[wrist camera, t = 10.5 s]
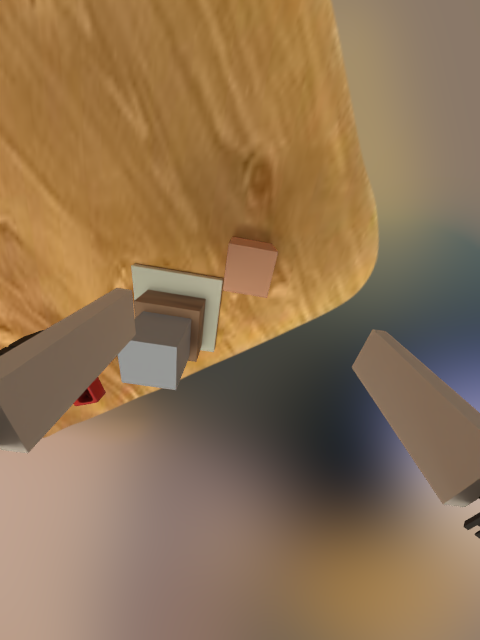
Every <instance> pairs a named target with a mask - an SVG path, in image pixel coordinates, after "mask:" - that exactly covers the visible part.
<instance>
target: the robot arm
mask: <svg viewBox="0 0 480 640" xmlns="http://www.w3.org/2000/svg"><path fill="white" fill-rule="evenodd" d="M135 335H136V328H135V318H134V308H133V297H132V290H127V289H121V288H116V289H114V290H112V291H111V292H109V293H107V294H106V295H104V296H102V297H100V298H99V299H97V300H95V301H94V302H92V303H90V304H89V305H87V306H85V307H83V308H82V309H80V310H78V311H77V312H75V313H73V314H71V315H70V316H68V317H66V318H65V319H63V320H61V321H59V322H58V323H56V324H54V325H53V326H51V327H49V328H47V329H46V330H42V331H39V332H36V333H33V334H30V335H27V336H24V337H23V338H21V339H19V340H17V341H15V342H14V343H12V344H10V345H9V346H8V347H5V348H3V349H1V350H0V449H1V450H6V451H14V452H23V453H29V452H30V451H31V449H32V448H33V447H34V446H35V445H36V444H37V443H38V442H39V441H40V439H41V438H42V437H43V436H44V435H45V434H46V433H47V432H48V431H49V430H50V429H51V427H52V426H53V425H54V424H55V423H56V422H57V421H58V420H59V419H60V418H61V416H62V415H63V414H64V413H65V412H66V411H67V410H68V409H69V408H70V407H71V405H72V404H73V403H74V402H75V401H76V400H77V399H78V398H79V397H80V396H81V394H82V393H83V392H84V391H85V390H86V389H87V388H88V387H89V386H90V385H91V383H92V382H93V381H94V380H95V379H96V378H97V377H98V376H99V375H100V374H101V372H102V371H103V370H104V369H105V368H106V367H107V366H108V365H109V364H110V363H111V361H112V360H113V359H114V358H115V357H116V356H117V355H118V354H119V353H120V352H121V350H122V349H123V348H124V347H125V346H126V345H127V344H128V343H129V342H130V341H131V339H132V338H133V337H134V336H135ZM352 368H353V370H354V371H355V373H356V374H357V376H358V377H359V379H360V380H361V382H362V383H363V385H364V386H365V388H366V389H367V391H368V392H369V394H370V395H371V397H372V398H373V400H374V401H375V403H376V404H377V406H378V407H379V409H380V410H381V412H382V413H383V415H384V416H385V418H386V419H387V421H388V422H389V424H390V425H391V427H392V428H393V430H394V431H395V433H396V434H397V436H398V438H399V439H400V441H401V442H402V444H403V445H404V446H405V448H406V450H407V451H408V453H409V454H410V456H411V457H412V459H413V460H414V462H415V463H416V465H417V466H418V468H419V469H420V470H421V472H422V473H423V475H424V477H425V478H426V480H427V481H428V482H429V484H430V485H431V487H432V489H433V490H434V492H435V493H436V495H437V496H438V498H439V499H440V500H441V502H442V503H443V504H444V505H453V506H460V507H466V506H467V505H469V504H470V503H472V502H473V501H475V500H477V499H478V498H479V499H480V413H479V412H478V411H477V410H476V409H474V408H473V407H472V406H471V405H470V404H469V403H468V402H466V401H465V400H464V399H463V398H462V397H461V396H460V395H458V394H457V393H456V392H455V391H454V390H453V389H451V388H450V387H449V386H448V385H447V384H446V383H445V382H443V381H442V380H441V379H440V378H439V377H438V376H436V375H435V374H434V373H433V372H432V371H431V370H430V369H429V368H427V367H426V366H425V365H424V364H423V363H422V362H420V361H419V360H418V359H417V358H416V357H415V356H414V355H412V354H411V353H410V352H409V351H408V350H407V349H406V348H404V347H403V346H402V345H401V344H400V343H399V342H397V341H396V340H395V339H394V338H393V337H392V336H391V335H389V334H388V333H387V332H385V331H380V330H374V329H373V330H372V332H371V333H370V335H369V337H368V339H367V340H366V342H365V344H364V346H363V348H362V350H361V351H360V353H359V355H358V357H357V359H356V361H355V363H354V364H353V366H352ZM476 525H478V526H480V513H478V514H476V515H475V516H473V517H471V518H470V519H468V520H466V521H465V523H464V527H465V528H466V529H467V530H469V529H471V528H473V527H475V526H476ZM475 535H476V536H477V537H478V538H480V531H478V532H476V533H475Z"/></svg>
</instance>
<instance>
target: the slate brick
mask: <svg viewBox="0 0 480 640" xmlns="http://www.w3.org/2000/svg"><path fill="white" fill-rule="evenodd" d="M135 328H136V335H135V336H134V337H133V338H132V339H131V341H130V342H129V343H128V344H127V345H126V346H125V347H124V348H123V349H122V350H121V352H120V353H119V354H118V360H119V366H120V372H121V379H122V382H123V383H130V384H137V385H145V386H152V387H159V388H166V389H173V390H176V388H177V386H178V383H179V381H180V378H181V376H182V373H183V371H184V368H185V366H186V363H187V361H188V358H189V352H190V335H191V319H189V318H183V317H177V316H170V315H164V314H158V313H151V312H145V311H143V312H142V313H140V314H139V315H138V316H137V317H136V318H135Z"/></svg>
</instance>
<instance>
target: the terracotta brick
mask: <svg viewBox="0 0 480 640" xmlns="http://www.w3.org/2000/svg"><path fill="white" fill-rule="evenodd" d="M277 255H278V251H277V250H276V249H275V247H274V246H273V244H271V243H266V242H260V241H255V240H249V239H244V238H238V237H232V239H231V240H230V242H229V246H228V254H227V261H226V269H225V276H224V284H223V291H229V292H235V293H241V294H247V295H253V296H259V297H265V298H267V295H268V291H269V287H270V283H271V279H272V275H273V271H274V267H275V263H276V259H277Z"/></svg>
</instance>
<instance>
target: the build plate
mask: <svg viewBox="0 0 480 640" xmlns="http://www.w3.org/2000/svg"><path fill="white" fill-rule="evenodd" d="M131 268H132V279H133V289H134V300H136V299H137V298H138V297H139V296H141V295H142V294H143V293H144V292H146V291H147V290H154V291H160V292H166V293H172V294H179V295H185V296H191V297H197V298H203V299H206V302H205V314H204V325H203V337H202V346H201V349H200V350H204V351H210V352H214V349H215V341H216V333H217V325H218V317H219V309H220V301H221V293H222V285H223V278H218V277H212V276H206V275H200V274H194V273H188V272H182V271H176V270H170V269H164V268H158V267H152V266H146V265H140V264H133V265H131Z"/></svg>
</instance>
